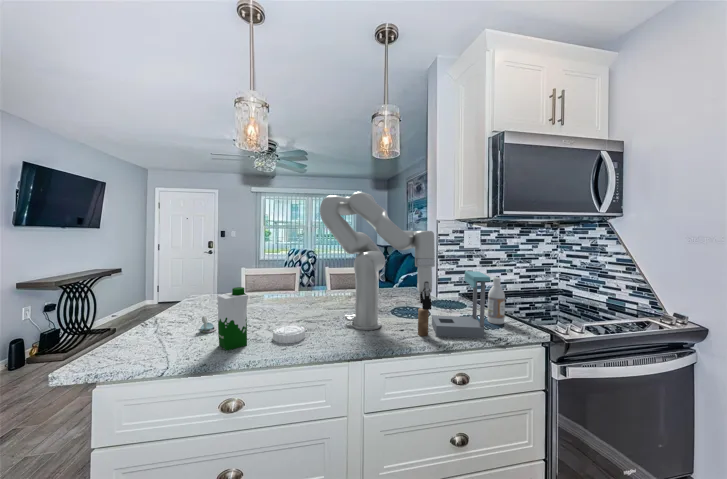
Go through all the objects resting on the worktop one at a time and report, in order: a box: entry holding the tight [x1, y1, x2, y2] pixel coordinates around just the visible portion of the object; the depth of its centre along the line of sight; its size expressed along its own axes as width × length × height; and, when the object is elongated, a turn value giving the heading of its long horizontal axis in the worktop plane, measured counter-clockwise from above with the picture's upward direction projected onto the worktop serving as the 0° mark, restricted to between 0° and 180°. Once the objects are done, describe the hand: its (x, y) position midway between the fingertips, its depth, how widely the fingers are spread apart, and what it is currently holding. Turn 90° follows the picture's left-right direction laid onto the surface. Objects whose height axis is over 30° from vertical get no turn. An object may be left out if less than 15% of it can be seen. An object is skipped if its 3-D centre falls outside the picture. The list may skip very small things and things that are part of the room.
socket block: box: [431, 314, 485, 339], centre depth 125 cm, size 18×14×4 cm
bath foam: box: [487, 276, 506, 325], centre depth 137 cm, size 7×7×20 cm
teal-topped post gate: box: [464, 270, 491, 328], centre depth 124 cm, size 6×15×24 cm, turn 174°
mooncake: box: [272, 324, 306, 344], centre depth 117 cm, size 12×12×4 cm
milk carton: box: [216, 286, 249, 351], centre depth 108 cm, size 9×9×20 cm
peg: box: [417, 307, 430, 337], centre depth 121 cm, size 4×4×10 cm
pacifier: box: [198, 315, 217, 334], centre depth 123 cm, size 7×6×6 cm
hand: (425, 306), depth 120 cm, fingers open, 9 cm apart
